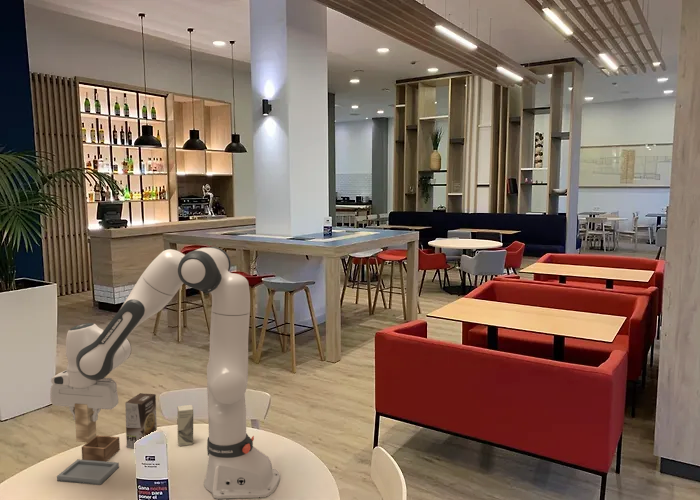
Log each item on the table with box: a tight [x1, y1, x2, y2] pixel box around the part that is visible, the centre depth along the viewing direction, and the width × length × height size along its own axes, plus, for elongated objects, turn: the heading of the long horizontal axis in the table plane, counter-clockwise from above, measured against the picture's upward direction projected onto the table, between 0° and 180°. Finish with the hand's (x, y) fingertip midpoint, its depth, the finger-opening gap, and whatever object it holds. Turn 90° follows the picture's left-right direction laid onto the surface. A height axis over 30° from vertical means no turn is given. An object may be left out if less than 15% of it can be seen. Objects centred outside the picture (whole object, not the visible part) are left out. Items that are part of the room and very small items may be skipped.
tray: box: [56, 458, 120, 486], centre depth 165 cm, size 14×10×2 cm
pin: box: [74, 404, 97, 444], centre depth 163 cm, size 4×4×12 cm
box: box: [176, 404, 194, 447], centre depth 185 cm, size 5×4×13 cm
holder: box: [81, 434, 121, 462], centre depth 177 cm, size 8×8×4 cm
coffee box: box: [124, 392, 158, 449], centre depth 185 cm, size 9×6×16 cm
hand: (85, 420), depth 163 cm, fingers closed on pin, 4 cm apart
